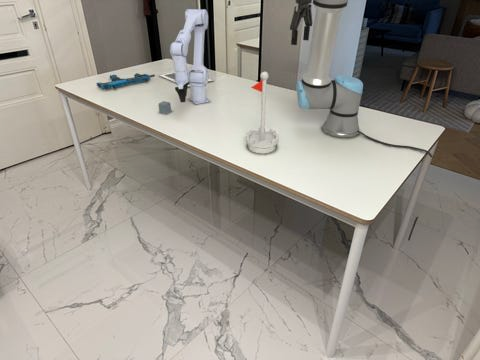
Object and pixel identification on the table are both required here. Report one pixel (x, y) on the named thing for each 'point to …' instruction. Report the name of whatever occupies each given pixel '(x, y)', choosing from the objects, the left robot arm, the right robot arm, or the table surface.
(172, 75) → the tablet
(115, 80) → the submachine gun
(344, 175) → the table surface
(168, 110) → the block
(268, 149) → the flag stand
